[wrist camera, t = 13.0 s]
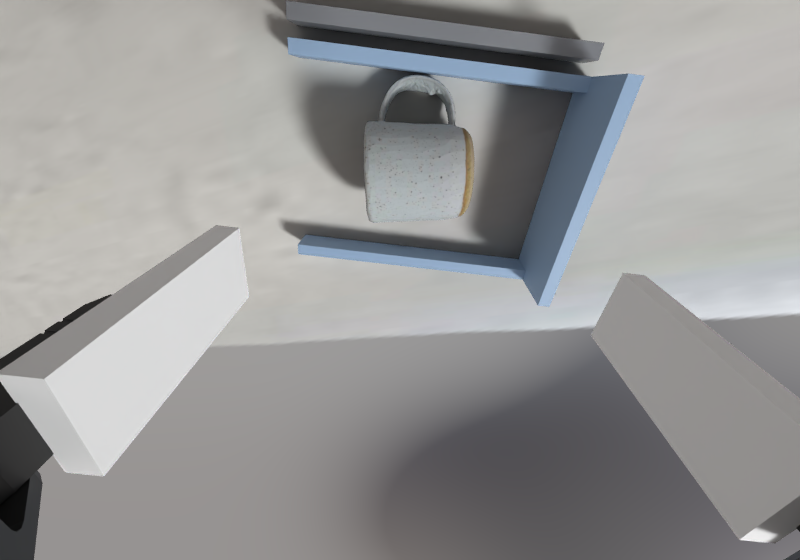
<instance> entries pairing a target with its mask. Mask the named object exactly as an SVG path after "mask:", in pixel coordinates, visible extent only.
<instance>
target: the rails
mask: <svg viewBox="0 0 800 560" xmlns="http://www.w3.org/2000/svg"><path fill="white" fill-rule="evenodd" d="M286 16H287V20H289V21H291V22H292V23H294V24H296V25H297V26H304V27H312V28H319V29H327V30H334V31H342V32H350V33H357V34H365V35H372V36H380V37H388V38H395V39H403V40H410V41H418V42H426V43H433V44H441V45H448V46H456V47H463V48H471V49H479V50H486V51H494V52H501V53H509V54H517V55H524V56H532V57H539V58H547V59H555V60H562V61H570V62H577V63H586V62H592V61H598V60H599V57H600V54H601V51H602V48H603V46H604V43H600V42H593V41H585V40H578V39H570V38H563V37H555V36H548V35H540V34H533V33H525V32H518V31H510V30H503V29H495V28H488V27H480V26H473V25H465V24H458V23H450V22H443V21H435V20H428V19H420V18H413V17H405V16H398V15H390V14H383V13H375V12H368V11H360V10H353V9H345V8H338V7H330V6H323V5H315V4H308V3H301V2H293V1H286Z"/></svg>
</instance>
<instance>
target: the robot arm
mask: <svg viewBox="0 0 800 560" xmlns="http://www.w3.org/2000/svg"><path fill="white" fill-rule="evenodd" d="M248 298H249V291H248V285H247V278H246V271H245V264H244V257H243V250H242V243H241V237H240V230H239V228H235V227H227V226H218V225H216V226H214V227H213V228H211V229H210V230H208V231H207V232H205V233H204V234H202V235H201V236H200V237H198V238H197V239H195V240H194V241H192V242H191V243H189V244H188V245H186V246H185V247H183V248H182V249H180V250H179V251H177V252H176V253H174V254H173V255H171V256H170V257H168V258H167V259H165V260H164V261H162V262H161V263H159V264H158V265H156V266H155V267H153V268H152V269H150V270H149V271H147V272H146V273H144V274H143V275H141V276H140V277H138V278H137V279H135V280H134V281H132V282H131V283H129V284H128V285H126V286H125V287H123V288H122V289H120V290H119V291H118V292H116V293H115V294H113V295H108V296H105V297H103V298H100V299H98V300H95V301H93V302H90V303H88V304H85V305H83V306H82V307H80V308H79V309H77V310H76V311H74V312H73V313H71V314H69V315H68V316H66V317H65V318H63V321H62V322H57V323H55V324H54V325H52V326H51V327H49V328H48V329H46V330H45V333H44V334H38V335H37V336H35V337H34V338H32V339H31V340H29V341H27V342H26V343H24V344H23V345H21V346H20V347H18V348H17V349H15V350H14V351H12V352H10V353H9V354H7V355H6V356H4V357H3V358H1V359H0V560H34V553H35V544H36V535H37V526H38V517H39V509H40V500H41V491H42V480H41V476H40V473H39V472H38V471H37V470H38V469H39V468H40V467H41V466H42V465H43V464H44V463H45V462H46V461H47V460H48V459H49V458H50V457H51V456H52V455H53V456H54V457H55V459H56V460H57V462H58V463H59V464H60V466H61V467H62V469H63V470H64V471H65V472H66V473H76V474H86V475H96V476H105V474H106V473H107V472H108V471H109V470H110V468H111V467H112V466H113V464H114V463H115V462H116V461H117V460H118V458H119V457H120V456H121V455H122V453H123V452H124V451H125V450H126V448H127V447H128V446H129V445H130V443H131V442H132V441H133V440H134V439H135V437H136V436H137V435H138V434H139V432H140V431H141V430H142V429H143V427H144V426H145V425H146V424H147V423H148V421H149V420H150V419H151V418H152V416H153V415H154V414H155V412H156V411H157V410H158V409H159V408H160V406H161V405H162V404H163V402H164V401H165V400H166V399H167V398H168V396H169V395H170V394H171V393H172V391H173V390H174V389H175V388H176V387H177V385H178V384H179V383H180V382H181V380H182V379H183V378H184V377H185V376H186V374H187V373H188V372H189V371H190V369H191V368H192V367H193V366H194V364H195V363H196V362H197V361H198V359H199V358H200V357H201V356H202V354H203V353H204V352H205V351H206V350H207V348H208V347H209V346H210V345H211V343H212V342H213V341H214V340H215V338H216V337H217V336H218V335H219V333H220V332H221V331H222V330H223V329H224V327H225V326H226V325H227V324H228V322H229V321H230V320H231V319H232V317H233V316H234V315H235V314H236V312H237V311H238V310H239V309H240V307H241V306H242V305H243V304H244V303H245V301H246V300H247V299H248ZM591 336H592V338H593V339H594V340H595V342H596V343H597V344H598V346H599V347H600V349H601V350H602V351H603V353H604V354H605V355H606V357H607V358H608V359H609V361H610V362H611V364H612V365H613V366H614V368H615V369H616V371H617V372H618V373H619V375H620V376H621V378H622V379H623V380H624V381H625V383H626V384H627V386H628V387H629V389H630V390H631V391H632V393H633V394H634V395H635V397H636V398H637V400H638V401H639V402H640V404H641V405H642V406H643V408H644V409H645V411H646V412H647V413H648V415H649V416H650V417H651V419H652V420H653V422H654V423H655V424H656V425H657V427H658V429H659V430H660V431H661V433H662V434H663V435H664V437H665V438H666V439H667V441H668V442H669V444H670V445H671V446H672V448H673V449H674V450H675V452H676V453H677V455H678V456H679V457H680V459H681V460H682V462H683V463H684V464H685V466H686V467H687V468H688V470H689V471H690V472H691V474H692V475H693V477H694V478H695V479H696V481H697V482H698V484H699V485H700V486H701V488H702V489H703V491H704V492H705V493H706V495H707V496H708V497H709V499H710V500H711V501H712V503H713V504H714V506H715V507H716V508H717V510H718V511H719V513H720V514H721V515H722V517H723V518H724V519H725V521H726V522H727V524H728V525H729V526H730V528H731V529H732V530H733V532H734V533H735V535H736V536H737V537H738V539H739V540H746V541H756V542H766V543H776V542H777V541H779V540H780V539H782V538H783V537H785V536H786V535H788V534H789V533H791V532H792V531H794V530H795V529H798V530H799V531H800V399H799V398H798V397H797V396H796V395H794V394H793V393H792V392H791V391H789V390H788V389H787V388H785V387H784V386H783V385H782V384H781V383H779V382H778V381H777V380H776V379H774V378H773V377H772V376H771V375H769V374H768V373H767V372H766V371H764V370H763V369H762V368H760V367H759V366H758V365H757V364H755V363H754V362H753V361H752V360H750V359H749V358H748V357H747V356H745V355H744V354H743V353H741V352H740V351H739V350H738V349H737V348H735V347H734V346H733V345H732V344H730V343H729V342H728V341H726V340H725V339H724V338H723V337H721V336H720V335H719V334H718V333H716V332H715V331H714V330H713V329H711V328H710V327H709V326H708V325H706V324H705V323H704V322H703V321H701V320H700V319H699V318H698V317H696V316H695V315H694V314H693V313H691V312H690V311H689V310H688V309H686V308H685V307H684V306H683V305H681V304H680V303H679V302H678V301H676V300H675V299H674V298H673V297H671V296H670V295H669V294H667V293H666V292H665V291H664V290H662V289H661V288H660V287H659V286H657V285H656V284H655V283H654V282H652V281H651V280H650V279H649V278H647V277H646V276H645V275H636V274H628V273H623V274H622V276H621V278H620V280H619V282H618V284H617V286H616V287H615V289H614V291H613V293H612V295H611V297H610V299H609V301H608V303H607V305H606V307H605V309H604V311H603V313H602V314H601V316H600V318H599V320H598V322H597V324H596V326H595V328H594V330H593V332H592V334H591ZM785 560H800V550H799V551H798V552H796V553H794V554H793V555H791V556H789V557H788V558H786V559H785Z"/></svg>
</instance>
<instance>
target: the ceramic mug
mask: <svg viewBox="0 0 800 560" xmlns="http://www.w3.org/2000/svg"><path fill="white" fill-rule="evenodd" d="M405 90H411V91H421V92H425V93H428V94H429V95H434V94H436V95H437V96H439V97H440V99H441V100H442V102H443V103H444V104H445V107H446V112H447V115H448V125H447V124H413V123H403V122H385V117H386V113H387V109H388V107H389V105H390V102H391V101H392V99H393V98H394V97H395V96H396V95H397V94H398V93H399V92H403V91H405ZM455 113H456V112H455V108H454V102H453V100H452V97H451V94H450V92H449V91H448V90H447V89H446V87H445V86H444V85H443V84H442V83H440V82H439V81H438V80H436V79H434V78H431V77H429V76H424V75H409V76H405V77H403V78H401V79H399V80H398V81H396V82H395V83H394V84H393V85H392V87H391V88H390V89H389V90H388V92H387V93H386V95H385V97H384V99H383V102H382V105H381V109H380V113H379V120H378V121H368V122H367V123H366V126H365V134H364V178H365V193H366V208H367V215H368V218H369V221H370V222H373V223H377V222H394V221H395V222H400V221H419V220H445V219H451V218H456V217H459V216H461V215H462V214H464V212H465V211H466V210H467V208H468V206H469V203H470V200H471V195H472V189H473V181H474V149H473V141H472V138H471V136H470V134H469V133H468V132H467V131H466V130H465V129H464V128H460V127H457V126H455Z"/></svg>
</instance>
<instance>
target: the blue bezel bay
mask: <svg viewBox="0 0 800 560" xmlns="http://www.w3.org/2000/svg"><path fill="white" fill-rule="evenodd" d="M288 54H290V55H293V56H296V57H300V58H307V59H315V60H323V61H331V62H338V63H346V64H354V65H362V66H369V67H377V68H385V69H393V70H400V71H408V72H416V73H424V74H431V75H439V76H447V77H454V78H462V79H470V80H478V81H485V82H493V83H501V84H509V85H516V86H524V87H532V88H540V89H547V90H555V91H563V92H571V93H573V94H572V97H571V100H570V103H569V106H568V109H567V112H566V115H565V118H564V121H563V124H562V127H561V130H560V134H559V137H558V140H557V143H556V146H555V149H554V152H553V155H552V158H551V161H550V164H549V167H548V170H547V173H546V176H545V180H544V183H543V186H542V189H541V192H540V195H539V198H538V201H537V204H536V207H535V210H534V213H533V216H532V219H531V223H530V226H529V229H528V232H527V235H526V238H525V241H524V244H523V247H522V250H521V253H520V256H519V259H513V258H504V257H495V256H487V255H478V254H469V253H461V252H452V251H443V250H435V249H426V248H418V247H409V246H400V245H392V244H383V243H374V242H366V241H357V240H348V239H340V238H331V237H322V236H314V235H305V236H304V237H303V239H302V240H301V241H300V242H299V244H298V254H303V255H312V256H321V257H330V258H338V259H347V260H356V261H365V262H374V263H382V264H391V265H400V266H409V267H417V268H426V269H435V270H444V271H453V272H461V273H470V274H479V275H488V276H496V277H505V278H514V279H523V281H524V282H525V284H526V286H527V288H528V289H529V291H530V293H531V294H532V296H533V298H534V299H535V301H536V303H537V305H539V306H548V307H549V306H550V304H551V302H552V299H553V297H554V294H555V292H556V289H557V287H558V285H559V282H560V280H561V277H562V275H563V272H564V270H565V268H566V265H567V263H568V260H569V258H570V255H571V253H572V251H573V248H574V246H575V243H576V241H577V238H578V236H579V234H580V231H581V229H582V226H583V224H584V222H585V219H586V217H587V214H588V212H589V209H590V207H591V205H592V202H593V200H594V197H595V195H596V192H597V190H598V188H599V185H600V183H601V180H602V178H603V175H604V173H605V171H606V168H607V166H608V163H609V161H610V158H611V156H612V154H613V151H614V149H615V146H616V144H617V141H618V139H619V137H620V134H621V132H622V129H623V127H624V124H625V122H626V120H627V117H628V115H629V112H630V110H631V108H632V105H633V103H634V100H635V98H636V95H637V93H638V91H639V88H640V86H641V83H642V81H643V78H644V76H642V75H635V74H619V75H608V76H597V77H590V76H582V75H574V74H567V73H559V72H551V71H544V70H536V69H528V68H521V67H513V66H505V65H498V64H490V63H482V62H475V61H467V60H460V59H452V58H444V57H437V56H429V55H421V54H414V53H406V52H398V51H391V50H383V49H375V48H368V47H360V46H352V45H345V44H337V43H329V42H322V41H314V40H307V39H299V38H291V37H288Z"/></svg>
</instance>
